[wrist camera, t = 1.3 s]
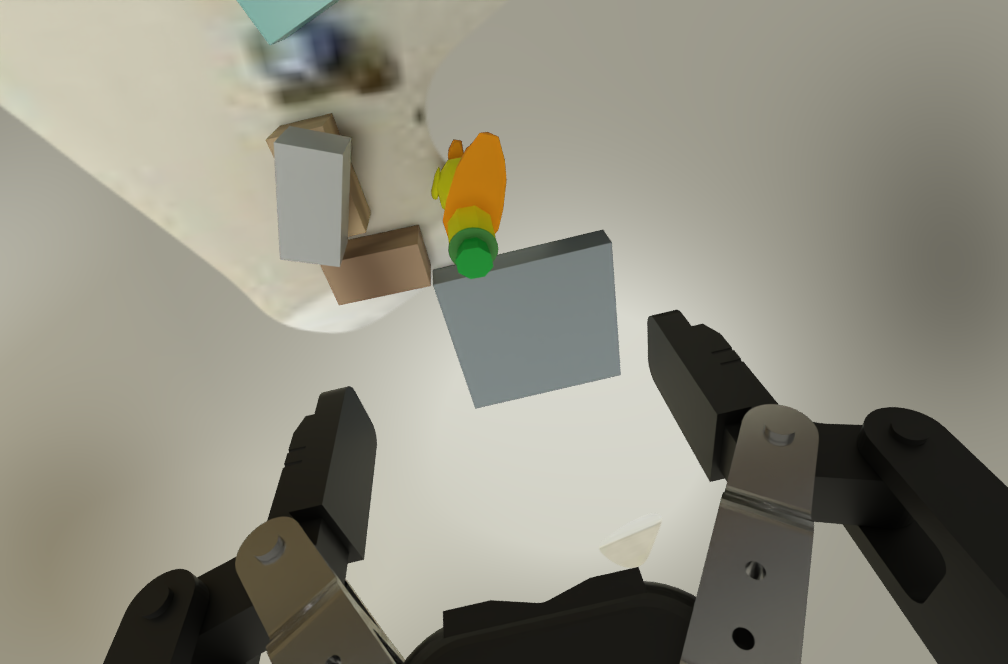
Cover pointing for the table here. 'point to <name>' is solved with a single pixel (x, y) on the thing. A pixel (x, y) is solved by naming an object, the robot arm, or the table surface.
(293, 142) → the grey brick
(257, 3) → the teal brick
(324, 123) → the oak brick
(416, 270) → the walnut brick
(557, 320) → the slate stand
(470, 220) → the toy figure
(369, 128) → the table surface
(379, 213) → the table surface
